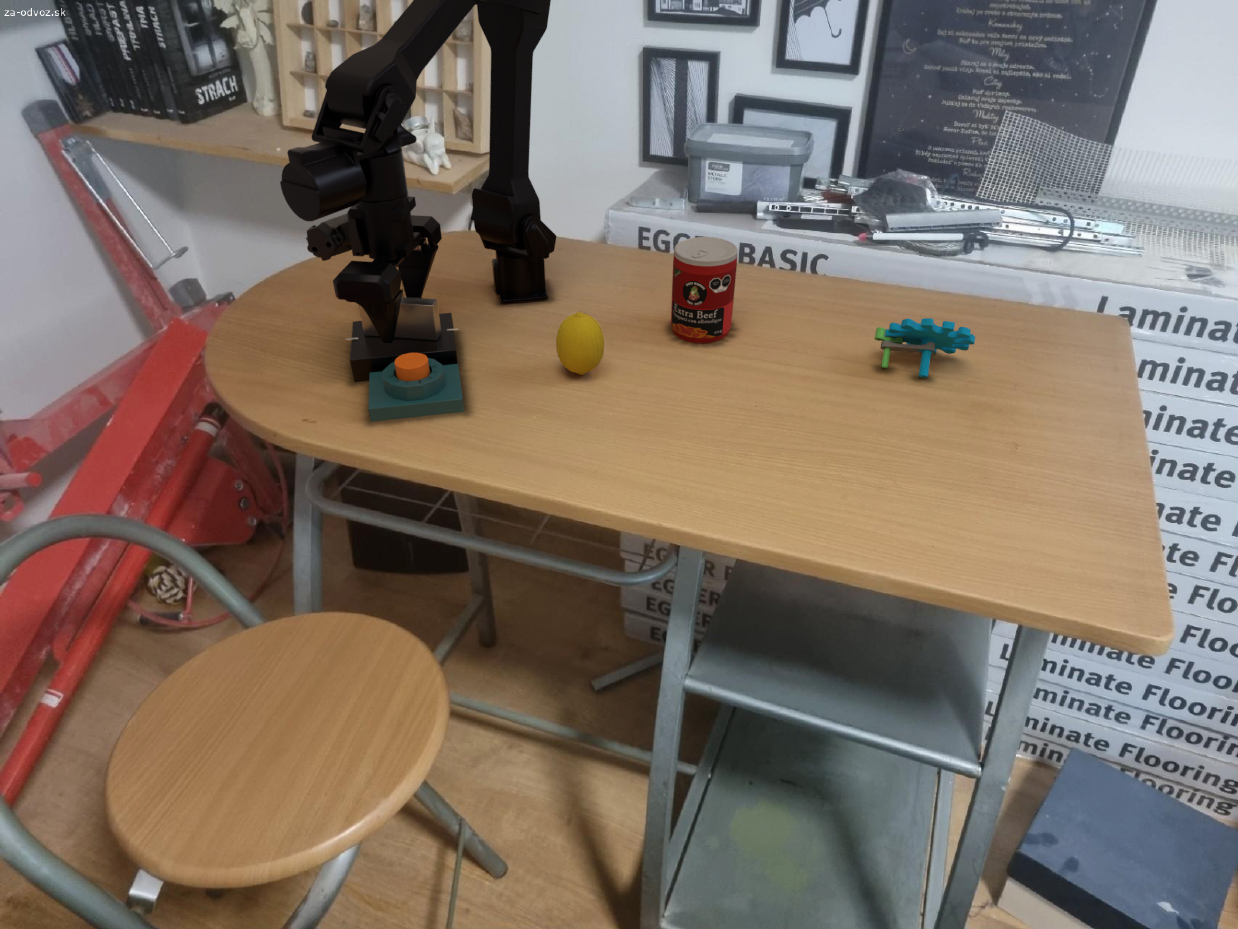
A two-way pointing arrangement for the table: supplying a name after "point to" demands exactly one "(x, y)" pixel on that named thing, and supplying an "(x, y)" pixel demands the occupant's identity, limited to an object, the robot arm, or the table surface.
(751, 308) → the table surface
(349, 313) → the table surface
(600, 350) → the lemon
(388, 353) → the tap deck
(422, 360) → the button
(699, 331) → the canned food
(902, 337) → the gear
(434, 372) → the control block
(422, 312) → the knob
